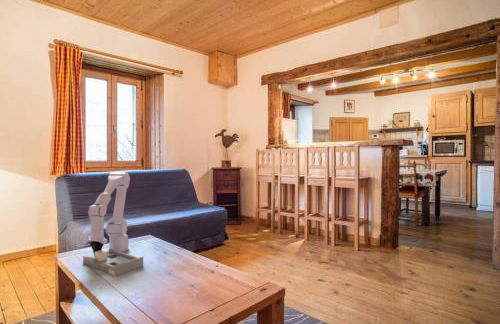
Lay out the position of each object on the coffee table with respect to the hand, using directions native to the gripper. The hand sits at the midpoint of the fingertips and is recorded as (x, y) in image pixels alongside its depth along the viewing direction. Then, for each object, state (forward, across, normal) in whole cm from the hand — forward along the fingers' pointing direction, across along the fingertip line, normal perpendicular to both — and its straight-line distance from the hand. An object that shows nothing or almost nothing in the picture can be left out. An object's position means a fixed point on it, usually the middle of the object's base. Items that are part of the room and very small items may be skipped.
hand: (97, 256), depth 143 cm
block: (+1, +3, 0) cm, 4 cm away
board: (+3, +9, +3) cm, 10 cm away
